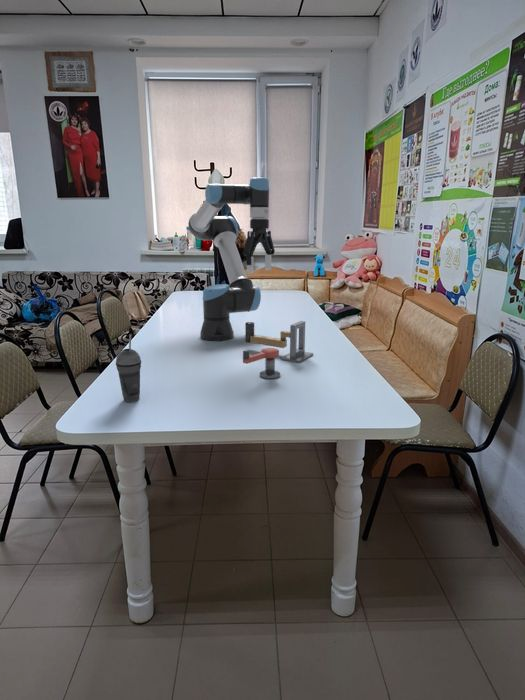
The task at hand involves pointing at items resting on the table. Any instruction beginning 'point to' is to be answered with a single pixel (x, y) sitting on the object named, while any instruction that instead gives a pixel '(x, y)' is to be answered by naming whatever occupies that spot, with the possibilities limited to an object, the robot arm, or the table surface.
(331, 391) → the table surface
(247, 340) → the hook bar
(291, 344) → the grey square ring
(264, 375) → the dark grey metal pedestal
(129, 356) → the beverage cup
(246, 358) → the red joystick lever
